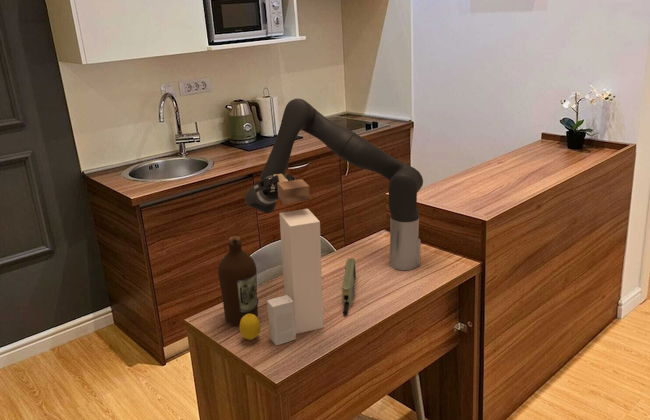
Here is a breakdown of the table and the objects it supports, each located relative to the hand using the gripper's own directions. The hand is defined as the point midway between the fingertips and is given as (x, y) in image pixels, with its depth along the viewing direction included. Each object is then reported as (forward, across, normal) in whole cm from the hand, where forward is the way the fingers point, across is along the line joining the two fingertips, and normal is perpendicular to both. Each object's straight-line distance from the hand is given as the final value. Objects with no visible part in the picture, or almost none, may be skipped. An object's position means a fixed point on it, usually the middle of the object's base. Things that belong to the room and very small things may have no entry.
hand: (282, 177), depth 163 cm
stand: (-6, 0, +41) cm, 41 cm away
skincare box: (-1, -8, +44) cm, 45 cm away
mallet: (+2, 0, +4) cm, 5 cm away
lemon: (-4, -16, +42) cm, 46 cm away
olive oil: (-14, -16, +36) cm, 42 cm away
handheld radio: (-14, +17, +37) cm, 43 cm away
